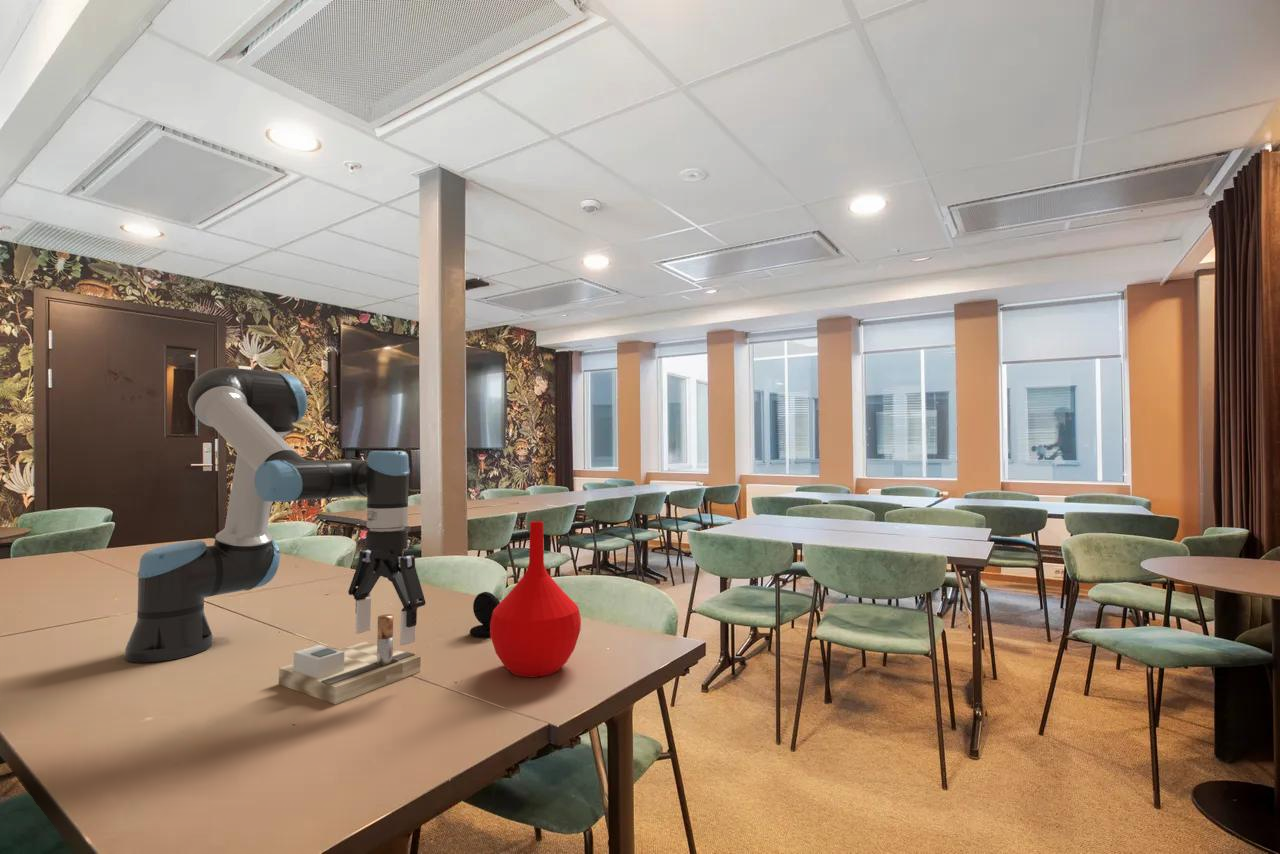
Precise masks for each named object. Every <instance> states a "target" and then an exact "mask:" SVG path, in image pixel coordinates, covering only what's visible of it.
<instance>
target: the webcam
mask: <svg viewBox="0 0 1280 854" xmlns="http://www.w3.org/2000/svg"><path fill="white" fill-rule="evenodd" d="M500 602H501V601H500V600H499V598H497V597H496V596H495V595H494V594H493V593H491V592H489V591H484V592H483V591H482V592H480V593H478V594H477V595H476V596H475V598H474V601H473V606H472V607H473V608H472V609H473V614H474V616H475V619H476V620H477V621H478V622H479V623H480V624H479V625H476V626H473V627H471V628H470V630H469V635H470V636H472V637H473V638H479V639H480V638H482V639H484V638H485V639H486V638H491V636H490V622H491V617H492V613H493V610H494V609H495V608H496V607H497V605H498V604H499V603H500Z"/></svg>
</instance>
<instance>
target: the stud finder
mask: <svg viewBox="0 0 1280 854" xmlns="http://www.w3.org/2000/svg"><path fill="white" fill-rule="evenodd" d="M293 664H294V666H293V671H295V672H298V673H301V674H304V675H307V676H310V677H313V678H316V679H321V678H324V677H327V676H329V675H332V674H335V673H338V672H341V671H344V651H340V649H335V648H332V647H329V646H325V645H323V644H317V645H314V646H311V647H307V648H303V649H300V650H297V651H293Z"/></svg>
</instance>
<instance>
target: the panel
mask: <svg viewBox="0 0 1280 854" xmlns="http://www.w3.org/2000/svg"><path fill="white" fill-rule="evenodd" d="M339 650H340V651H344V671H341V672H338V673H335V674H332V675H329V676H327V677H324V678H321V679H316V678H313V677H310V676H307V675H304V674H301V673H298V672H295V671H293V666H294V663H291V664H288V665H285V666H282V667H279V668H278V685H280V686H283V687H286V688H288V689H291V690H295V691H297V692H299V693H303V694H305V695H308V696H311V697H314V698H316V699H318V700H322V701H324V702H328V703H330V704H333V705H337V704H339V703H343V702H346V701H348V700H350V699H353V698H355V697H359V696H361V695H363V694H366V693H369V692H372V691H373V690H376V689H379V688H381V687H384V686H386V685H389V684H391V683H394V682H396V681H399V680H402V679H404V678H407V677H409V676H412V675H415V674H418V673H420V672H421V660H422V659H421V656H420V655H416V654H415V653H413V652H409V651H402V650H397V649H394V648H393V664H391V665H388V666H385V667H381V666H379V665H377V644H374V643H370V642H367V641H363V642H360V643H357V644H353V645H351V646H347V647H344V648H343V647H342V648H340V649H339Z"/></svg>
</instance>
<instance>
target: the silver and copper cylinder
mask: <svg viewBox="0 0 1280 854" xmlns="http://www.w3.org/2000/svg"><path fill="white" fill-rule="evenodd" d="M376 643H377V644H376V645H377V665H379V666H381V667H385V666H388V665H391V664H393V649H394V615H393V614H389V613H388V614H387V613H386V614H382V615H378V616H377V639H376Z"/></svg>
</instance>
